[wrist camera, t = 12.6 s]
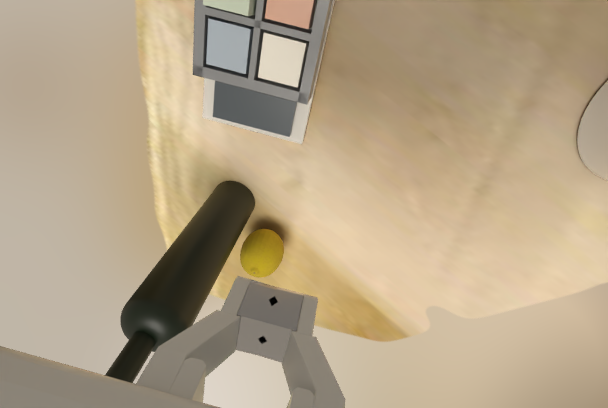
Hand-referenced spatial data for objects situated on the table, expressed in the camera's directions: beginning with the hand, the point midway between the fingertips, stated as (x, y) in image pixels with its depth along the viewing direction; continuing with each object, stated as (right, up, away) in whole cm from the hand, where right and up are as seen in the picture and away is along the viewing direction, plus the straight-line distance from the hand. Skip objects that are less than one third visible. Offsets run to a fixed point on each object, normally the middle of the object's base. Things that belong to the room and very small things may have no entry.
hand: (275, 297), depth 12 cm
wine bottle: (-8, +4, +34) cm, 35 cm away
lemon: (-4, -1, +36) cm, 36 cm away
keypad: (-3, +20, +23) cm, 30 cm away
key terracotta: (0, +22, +19) cm, 29 cm away
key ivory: (-1, +18, +21) cm, 28 cm away
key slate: (-6, +19, +21) cm, 29 cm away
